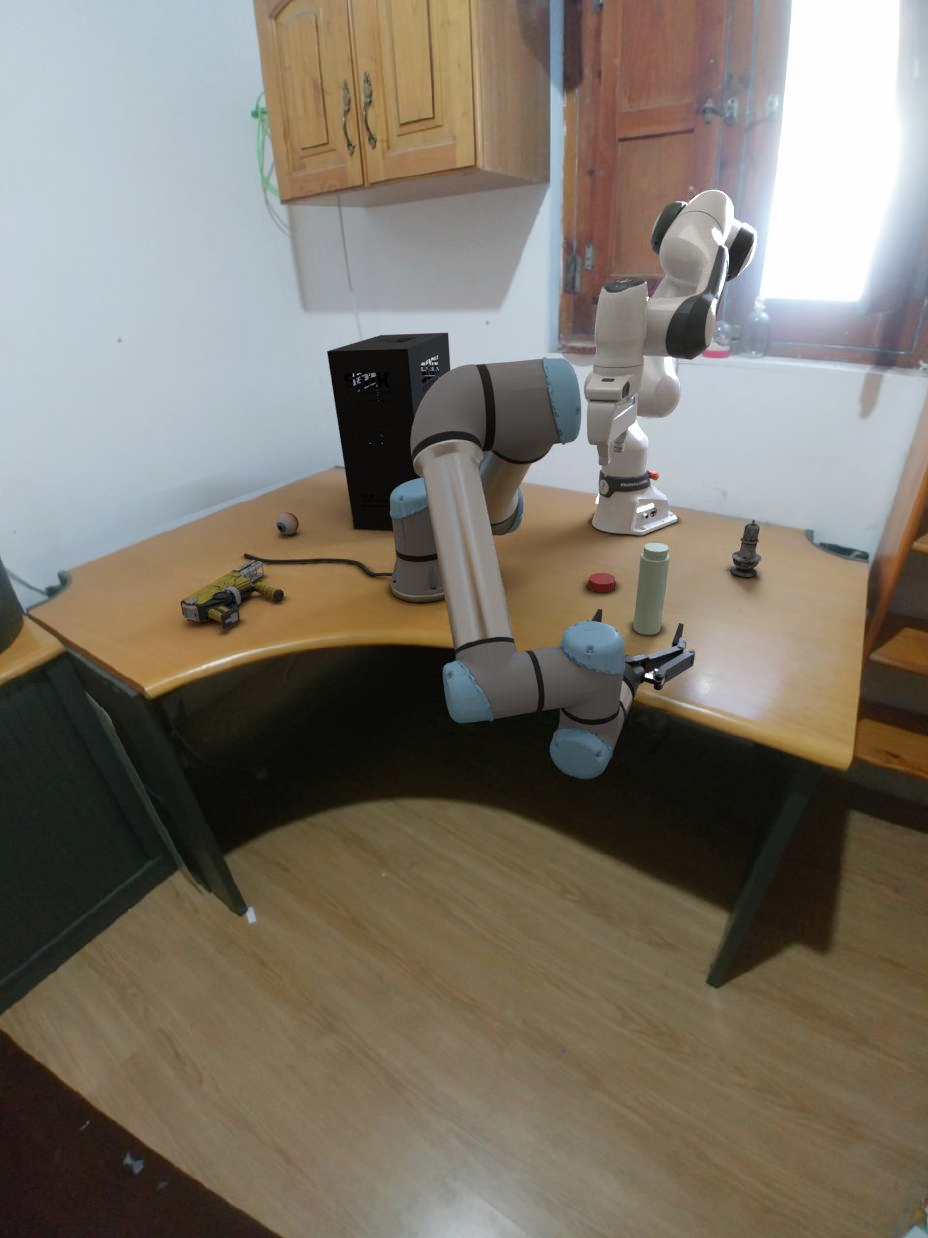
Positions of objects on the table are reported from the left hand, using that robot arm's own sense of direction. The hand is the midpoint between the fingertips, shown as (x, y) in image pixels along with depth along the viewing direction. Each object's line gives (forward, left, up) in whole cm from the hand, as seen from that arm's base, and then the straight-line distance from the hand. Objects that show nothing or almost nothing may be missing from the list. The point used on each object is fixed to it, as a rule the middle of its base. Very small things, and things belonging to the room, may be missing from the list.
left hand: (639, 622), depth 103 cm
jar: (0, +9, -6) cm, 11 cm away
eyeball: (-99, +23, -6) cm, 102 cm away
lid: (-13, +23, -5) cm, 27 cm away
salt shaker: (+14, +41, -6) cm, 43 cm away
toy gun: (-81, -11, -6) cm, 82 cm away
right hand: (-12, +23, +21) cm, 34 cm away
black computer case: (-79, +54, -6) cm, 96 cm away
